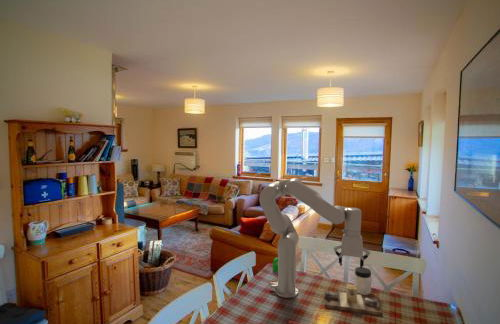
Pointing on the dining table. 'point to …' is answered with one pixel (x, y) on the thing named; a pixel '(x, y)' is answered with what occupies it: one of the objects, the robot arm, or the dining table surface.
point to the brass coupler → (351, 293)
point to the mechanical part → (275, 265)
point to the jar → (362, 280)
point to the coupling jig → (363, 303)
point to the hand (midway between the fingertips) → (350, 266)
